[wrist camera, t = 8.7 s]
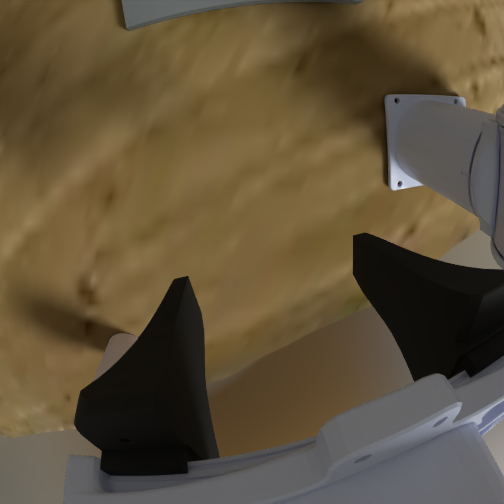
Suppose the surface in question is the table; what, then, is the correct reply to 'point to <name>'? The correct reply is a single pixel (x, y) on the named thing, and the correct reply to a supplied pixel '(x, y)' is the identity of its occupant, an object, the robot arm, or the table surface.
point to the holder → (188, 8)
